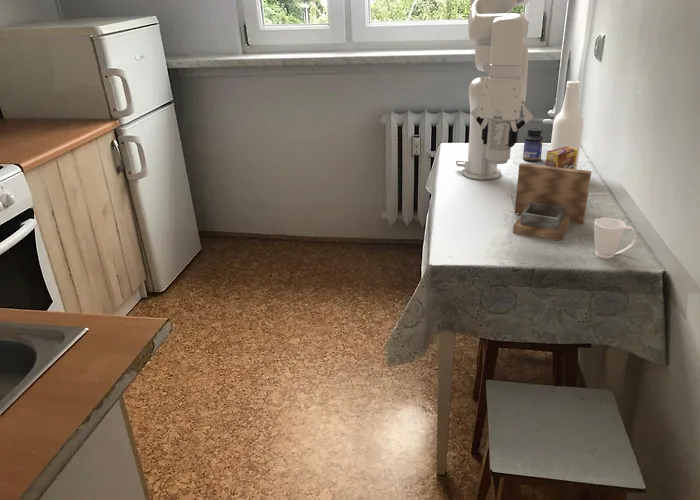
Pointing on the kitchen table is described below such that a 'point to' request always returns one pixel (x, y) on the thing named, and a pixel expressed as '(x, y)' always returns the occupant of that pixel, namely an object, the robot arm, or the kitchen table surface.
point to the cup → (609, 237)
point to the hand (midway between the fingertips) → (498, 143)
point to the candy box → (562, 157)
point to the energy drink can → (498, 139)
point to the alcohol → (568, 121)
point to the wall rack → (550, 199)
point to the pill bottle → (533, 145)
